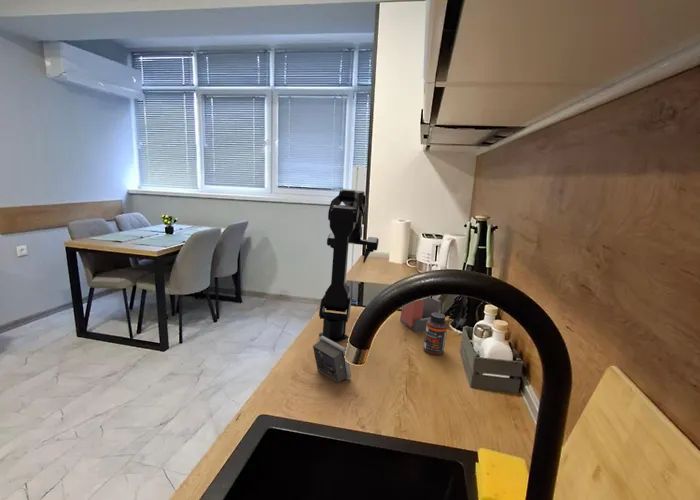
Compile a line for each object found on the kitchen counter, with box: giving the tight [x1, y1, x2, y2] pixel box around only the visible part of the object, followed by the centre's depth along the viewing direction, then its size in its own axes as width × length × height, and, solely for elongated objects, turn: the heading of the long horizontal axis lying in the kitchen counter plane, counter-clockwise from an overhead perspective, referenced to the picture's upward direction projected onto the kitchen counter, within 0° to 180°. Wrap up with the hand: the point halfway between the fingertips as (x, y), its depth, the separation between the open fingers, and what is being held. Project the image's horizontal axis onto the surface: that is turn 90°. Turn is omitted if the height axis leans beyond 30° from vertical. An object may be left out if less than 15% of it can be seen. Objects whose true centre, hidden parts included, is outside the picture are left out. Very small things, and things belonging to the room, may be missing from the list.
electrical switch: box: [312, 336, 352, 384], centre depth 93 cm, size 9×5×9 cm, turn 45°
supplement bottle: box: [422, 312, 448, 355], centre depth 111 cm, size 6×6×11 cm
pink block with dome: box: [400, 299, 424, 327], centre depth 127 cm, size 4×6×11 cm
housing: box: [399, 296, 442, 333], centre depth 129 cm, size 8×10×10 cm
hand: (351, 261), depth 145 cm, fingers open, 9 cm apart
